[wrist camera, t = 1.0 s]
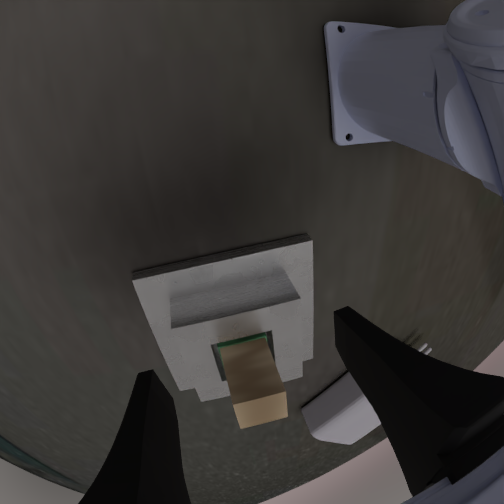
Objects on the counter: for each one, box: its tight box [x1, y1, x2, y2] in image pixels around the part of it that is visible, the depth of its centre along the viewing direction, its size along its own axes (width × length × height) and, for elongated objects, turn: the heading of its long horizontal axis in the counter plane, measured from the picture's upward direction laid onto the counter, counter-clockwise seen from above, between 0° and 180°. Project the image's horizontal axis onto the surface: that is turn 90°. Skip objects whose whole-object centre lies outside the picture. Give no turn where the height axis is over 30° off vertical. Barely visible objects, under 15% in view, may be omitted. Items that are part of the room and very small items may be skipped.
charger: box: [301, 343, 432, 444], centre depth 32 cm, size 5×9×15 cm
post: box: [217, 332, 288, 429], centre depth 20 cm, size 3×3×7 cm
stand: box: [132, 234, 313, 402], centre depth 23 cm, size 12×12×4 cm
